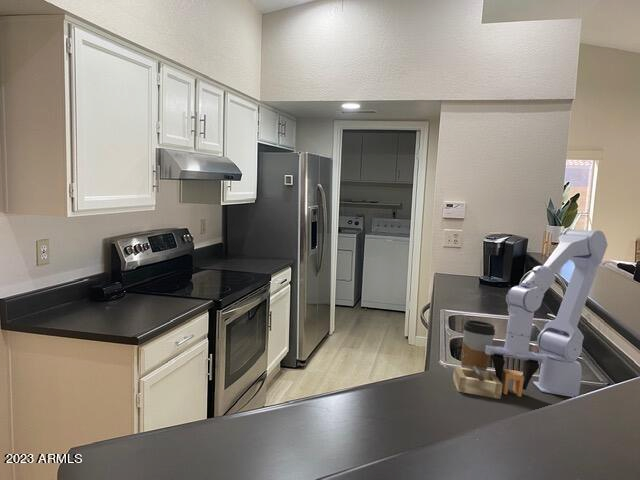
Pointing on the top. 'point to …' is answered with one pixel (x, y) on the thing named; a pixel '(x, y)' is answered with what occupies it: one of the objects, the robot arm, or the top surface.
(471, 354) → the coffee cup
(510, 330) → the robot arm
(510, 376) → the orange u-channel
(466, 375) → the shelf block
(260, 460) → the top surface
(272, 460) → the top surface
